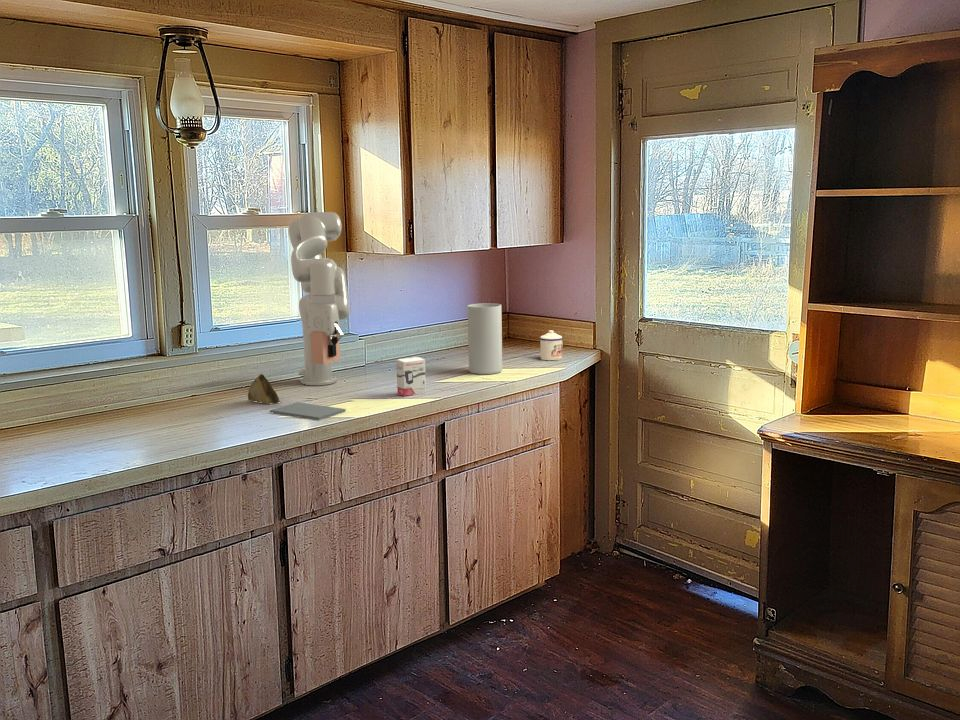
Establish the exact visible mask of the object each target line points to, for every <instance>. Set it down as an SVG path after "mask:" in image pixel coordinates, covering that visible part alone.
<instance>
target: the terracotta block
mask: <svg viewBox="0 0 960 720" xmlns="http://www.w3.org/2000/svg"><path fill="white" fill-rule="evenodd" d="M332 335H333V334H332ZM310 338H311V358H312V363H317V364H327V363H330V362H332V363H334V362H339V361H340V360H341V352H340V351H341V348H340V340H339V341H338V343H337V344H336V356H334V357H329V355H328V345H330V344H329V341H328V336H325V333H322V332H310ZM332 340H333V337H332Z"/></svg>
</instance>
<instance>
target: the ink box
mask: <svg viewBox="0 0 960 720" xmlns="http://www.w3.org/2000/svg"><path fill="white" fill-rule="evenodd" d="M395 362H396V386H397V395H399V394H400V395H399V396H402V395H403V396H402V397H407V396H406V395H410V396H414V395H413V394H417V395H421V394H420V393H424V394H427V388H426V387H427V384H426V383H427V382H426V359H425V358H421V357H420V356H413V357H407V358H406V357H405V358H399V359H396V361H395Z"/></svg>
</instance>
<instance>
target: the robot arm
mask: <svg viewBox="0 0 960 720" xmlns="http://www.w3.org/2000/svg"><path fill="white" fill-rule="evenodd" d="M342 228H343V225H342V220H341V216H340V215H339V214H337V212H334V211H325V212H324V211H323V212H322V211H321V212H320V211H318V212H315V211H314V212H306V213H304V214H302V215H301V216H300V217H299V218H296V219H293V220H291V222H289V225H288V235H289V240H290V244H291V246H292V249H293V250H292V253H291V256H290V264H291V265H290V266H291V272H292V275H293V276H292V277H293V278H294V280H295V281H297V282H298V283H300V285H301V289H302V291H303V292H305V294H306V295H303V296H302V297H301V298H300V299H299V301H298V311H299V315H300V319H301V326H302V340H303V353H304V354H303V355H304V356H303V358H304V369H303V368H302V369H300V370H298V375H299V376H303V377H302V378H301V380H300V383H301V384H302V385H304V384H305V386H326V385H331V384H335V383H337V381H338V379H337V377H336V376H333V362H330V363H327V364H317V363H312V358H311V338H310V332H322V333H325V336H328V341H329V344H330V345H328V355H329V357H334V356H336V344H337V343H338V341H339V342H340V339H341V338H342V337H343V336H344V333H343V331H342V330H341V328H340V327H341V326H340V325H341V324H340V320H341V321H342V320H347V318H348V317H349V316H350V301H349V293H348V285H347V279H346V274H345V272H344V271H345V270H344V269H343V268H342V267H340V266H338V264H337V263H336V262H335V261H334V260H333V259H332V258H328V257H327V258H323V255H322V254H323V253H324V252H325V251H326V249H327V247H328V242H334V241H337V240H338V238H339V237H340V236H341V233H342ZM332 334H333V335H332ZM332 337H333V340H332Z"/></svg>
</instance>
